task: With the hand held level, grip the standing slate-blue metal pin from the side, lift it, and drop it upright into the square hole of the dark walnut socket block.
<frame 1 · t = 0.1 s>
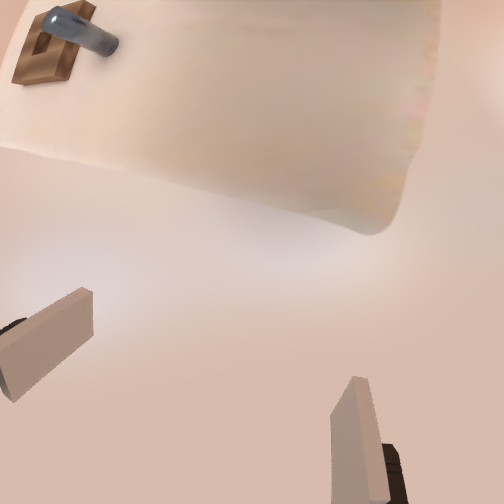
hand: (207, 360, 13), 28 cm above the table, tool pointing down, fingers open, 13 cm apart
pin: (109, 46, 36), on the table
socket block: (55, 46, 37), on the table
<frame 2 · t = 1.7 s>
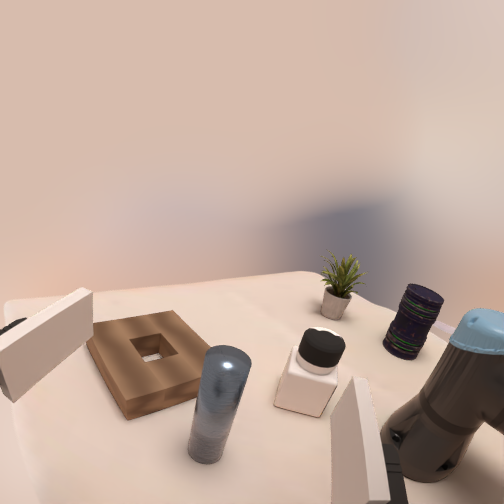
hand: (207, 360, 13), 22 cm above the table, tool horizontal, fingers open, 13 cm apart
medicine bottle: (298, 398, 41), on the table
storage jar: (399, 349, 62), on the table
pin: (204, 450, 28), on the table
house plant: (328, 312, 74), on the table
socket block: (152, 367, 40), on the table
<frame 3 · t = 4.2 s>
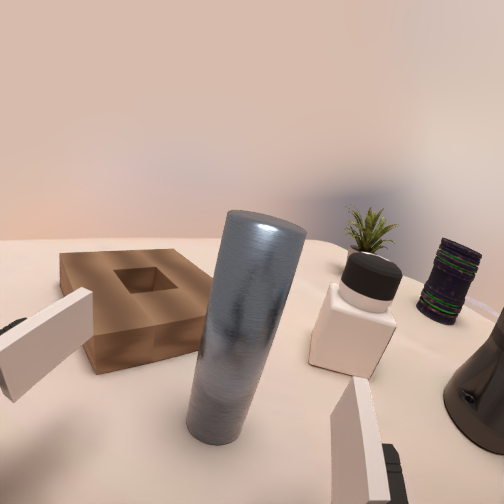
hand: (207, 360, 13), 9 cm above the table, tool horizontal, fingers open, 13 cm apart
medicine bottle: (338, 356, 32), on the table
storage jar: (435, 314, 52), on the table
pin: (213, 424, 19), on the table
house plant: (352, 275, 64), on the table
socket block: (141, 311, 31), on the table
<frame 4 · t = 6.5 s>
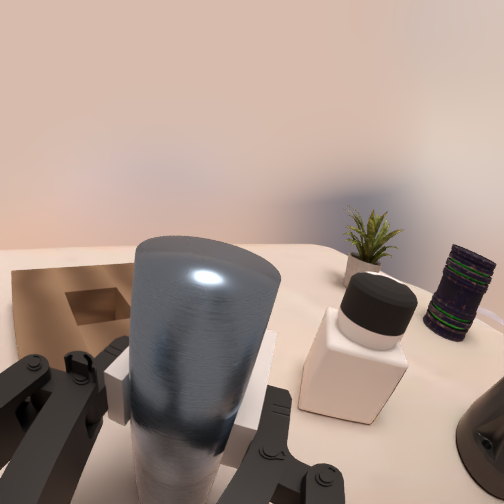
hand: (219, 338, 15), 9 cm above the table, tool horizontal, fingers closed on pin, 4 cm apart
medicine bottle: (334, 395, 25), on the table
storage jar: (443, 329, 46), on the table
pin: (171, 495, 12), on the table, touching gripper
house plant: (352, 285, 58), on the table
socket block: (99, 340, 24), on the table
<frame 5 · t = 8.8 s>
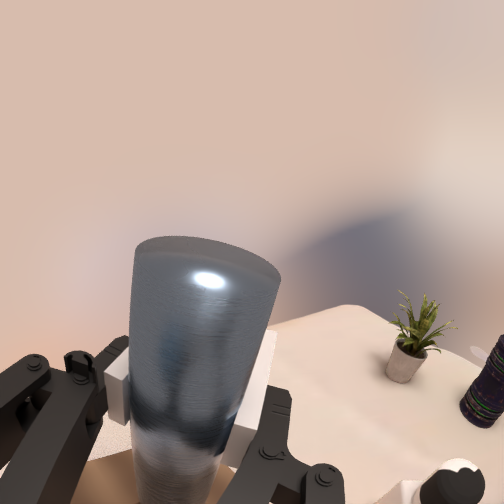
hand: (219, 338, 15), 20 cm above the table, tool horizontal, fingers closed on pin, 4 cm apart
storage jar: (476, 413, 37), on the table
pin: (171, 495, 12), point 11 cm above the table, touching gripper
house plant: (393, 371, 49), on the table
when the fingers open (10 cm above the table, at t = 11.2 s): pin drops 1 cm, resting in socket block.
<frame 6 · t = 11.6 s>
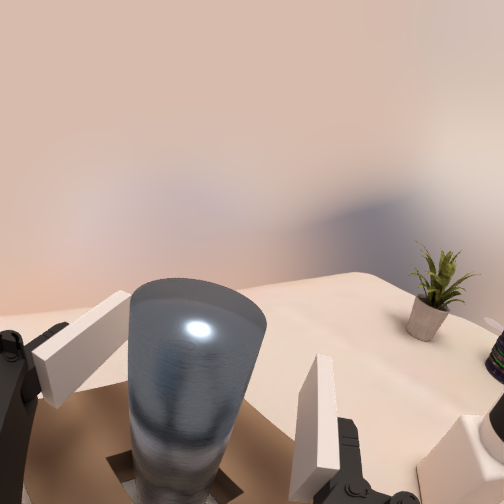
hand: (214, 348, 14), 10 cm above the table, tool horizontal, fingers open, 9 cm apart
medicine bottle: (447, 495, 14), on the table
storage jar: (503, 374, 34), on the table
pin: (170, 503, 13), resting in socket block
house plant: (414, 330, 46), on the table
socket block: (170, 502, 13), on the table
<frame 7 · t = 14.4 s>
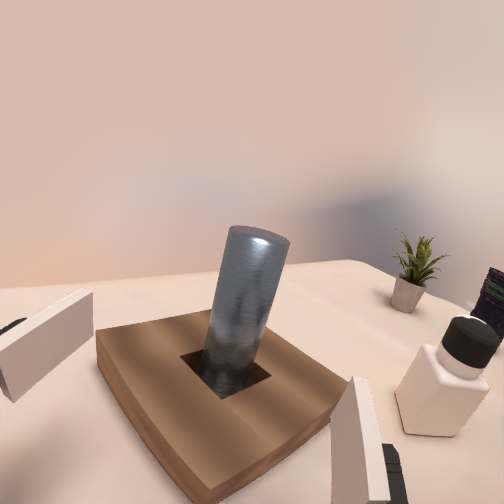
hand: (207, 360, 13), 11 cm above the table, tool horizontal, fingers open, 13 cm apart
medicine bottle: (422, 416, 25), on the table
storage jar: (478, 343, 45), on the table
pin: (217, 400, 23), resting in socket block
house plant: (397, 305, 57), on the table
socket block: (217, 399, 24), on the table
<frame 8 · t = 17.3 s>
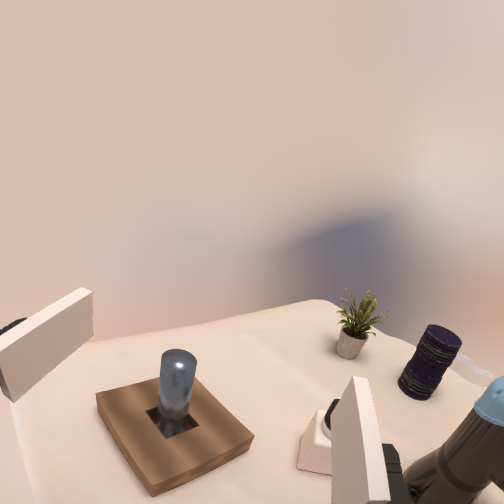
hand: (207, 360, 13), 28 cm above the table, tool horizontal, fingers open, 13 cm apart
medicine bottle: (319, 457, 36), on the table
storage jar: (414, 388, 57), on the table
pin: (170, 434, 35), resting in socket block
house plant: (343, 350, 69), on the table
socket block: (170, 434, 35), on the table
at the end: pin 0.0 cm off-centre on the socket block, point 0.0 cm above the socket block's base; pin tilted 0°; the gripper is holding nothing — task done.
